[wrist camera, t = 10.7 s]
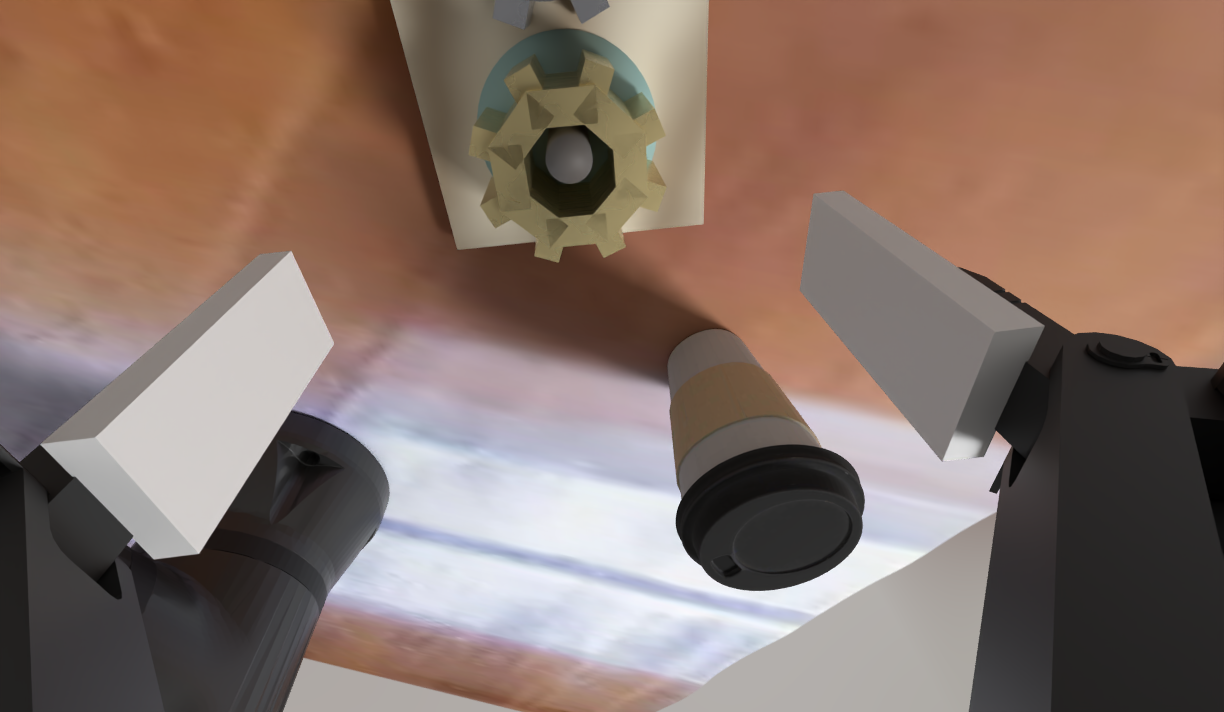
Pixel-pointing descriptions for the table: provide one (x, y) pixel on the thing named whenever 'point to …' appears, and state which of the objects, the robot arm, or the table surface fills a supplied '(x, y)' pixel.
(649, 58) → the gear board
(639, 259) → the table surface
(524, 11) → the gear
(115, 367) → the table surface
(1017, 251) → the table surface
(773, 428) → the coffee cup
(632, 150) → the gear
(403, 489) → the table surface
